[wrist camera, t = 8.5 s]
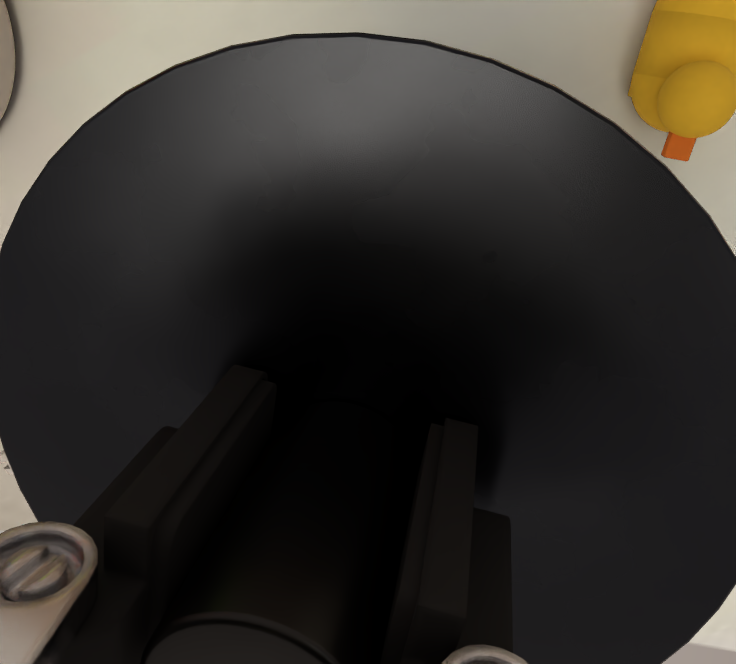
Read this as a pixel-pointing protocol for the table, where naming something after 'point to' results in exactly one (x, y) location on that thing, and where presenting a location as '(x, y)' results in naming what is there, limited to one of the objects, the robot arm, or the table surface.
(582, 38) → the table surface
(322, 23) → the table surface
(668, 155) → the duck
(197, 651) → the pan lid
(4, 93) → the cylinder vase
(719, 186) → the table surface
